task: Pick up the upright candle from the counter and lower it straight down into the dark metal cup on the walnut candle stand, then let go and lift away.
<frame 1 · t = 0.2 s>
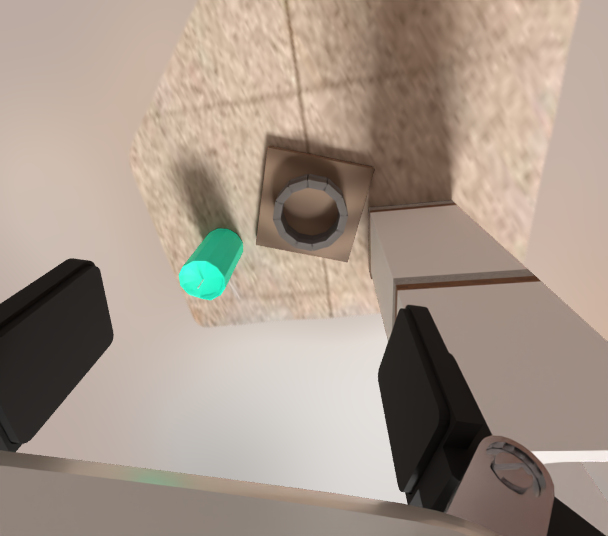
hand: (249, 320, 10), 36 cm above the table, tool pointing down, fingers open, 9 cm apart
candle stand: (311, 206, 46), on the table
tall banded pillar: (407, 237, 48), on the table
candle: (224, 245, 50), on the table
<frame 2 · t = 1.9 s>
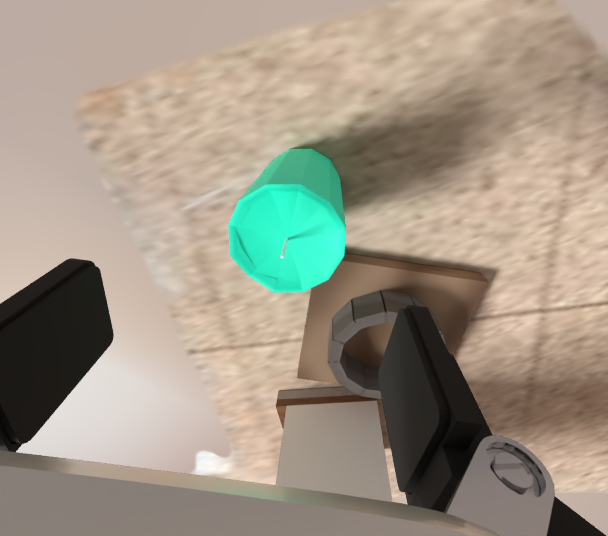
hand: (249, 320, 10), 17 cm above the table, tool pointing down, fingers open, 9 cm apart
candle stand: (379, 325, 31), on the table
tall banded pillar: (332, 419, 38), on the table
candle: (302, 187, 25), on the table
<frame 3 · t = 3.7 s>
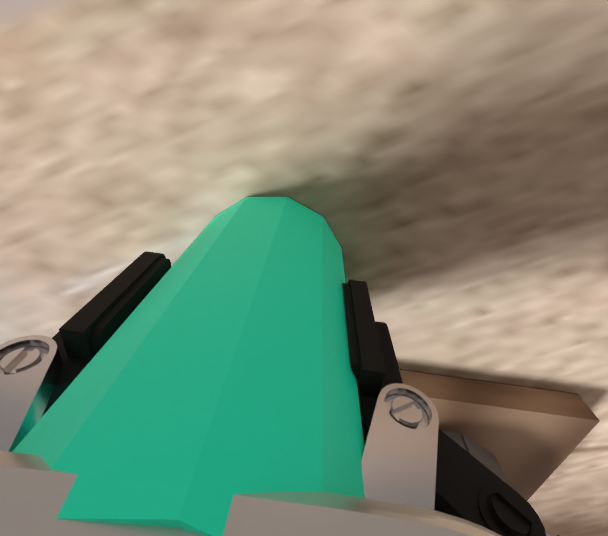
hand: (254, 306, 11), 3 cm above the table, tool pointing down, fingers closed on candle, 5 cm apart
candle stand: (402, 456, 20), on the table
candle: (272, 261, 14), on the table, touching gripper
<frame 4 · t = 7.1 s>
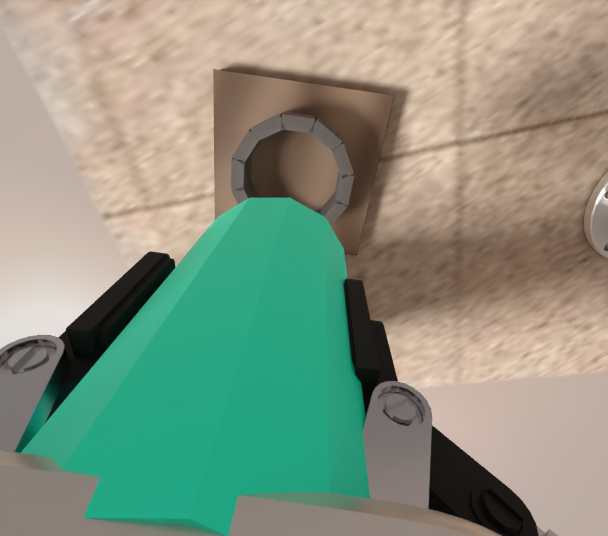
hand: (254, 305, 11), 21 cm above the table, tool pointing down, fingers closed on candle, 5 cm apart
candle stand: (295, 170, 29), on the table
candle: (274, 262, 14), point 18 cm above the table, touching gripper
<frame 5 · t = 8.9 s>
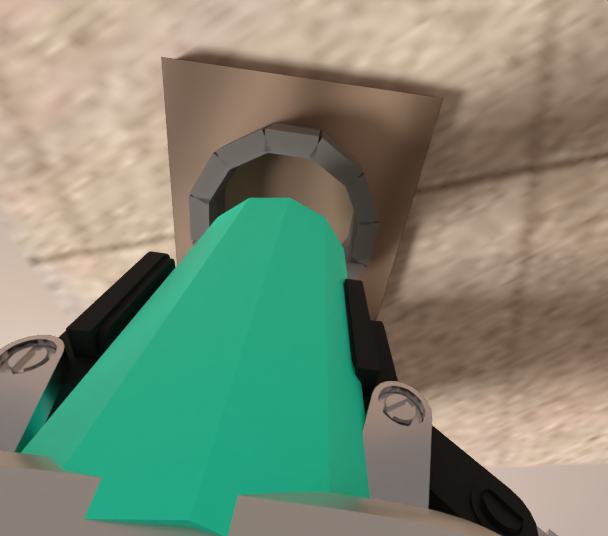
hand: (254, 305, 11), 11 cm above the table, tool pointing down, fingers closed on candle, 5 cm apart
candle stand: (290, 204, 21), on the table
candle: (274, 262, 14), point 8 cm above the table, touching gripper
when the fingers open (6 cm above the table, at t = 10.4 s): candle drops 1 cm, resting on candle stand.
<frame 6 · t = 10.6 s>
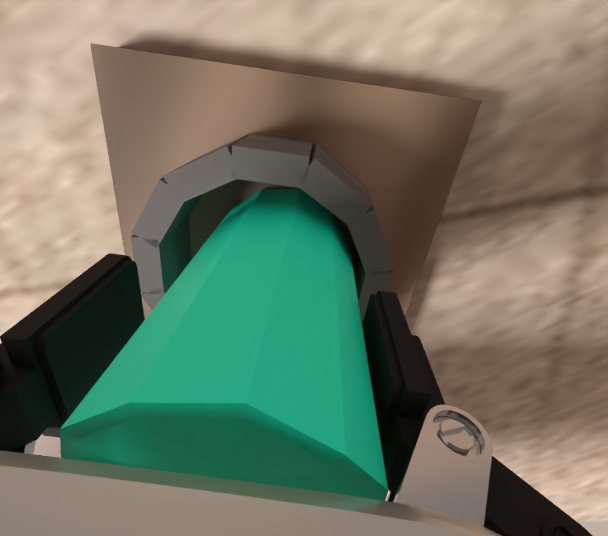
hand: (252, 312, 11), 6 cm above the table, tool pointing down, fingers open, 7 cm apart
candle stand: (276, 235, 16), on the table
candle: (284, 249, 15), point 1 cm above the table, touching candle stand
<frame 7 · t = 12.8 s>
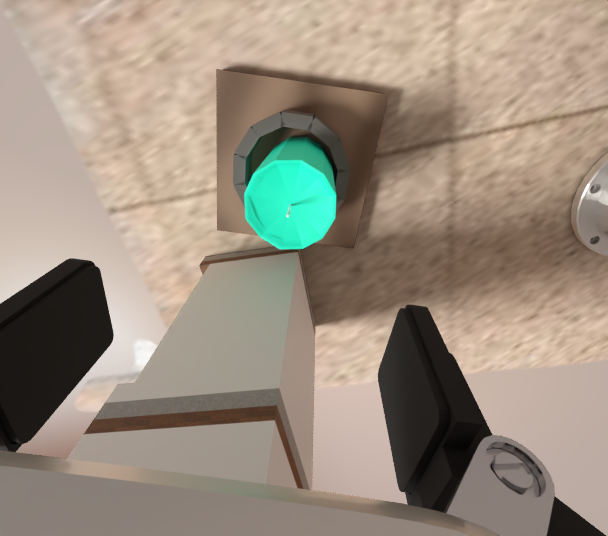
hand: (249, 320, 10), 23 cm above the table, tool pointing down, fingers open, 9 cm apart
candle stand: (294, 166, 31), on the table
tall banded pillar: (263, 292, 38), on the table
candle: (299, 170, 30), point 1 cm above the table, touching candle stand
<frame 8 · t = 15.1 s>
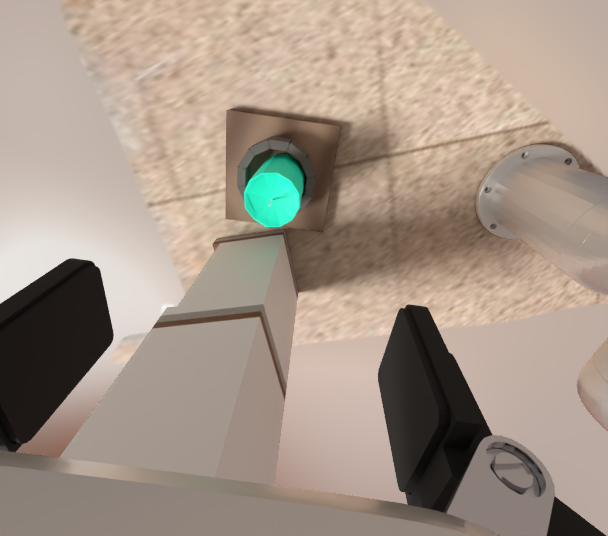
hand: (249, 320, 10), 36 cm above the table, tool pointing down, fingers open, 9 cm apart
candle stand: (279, 173, 44), on the table
tall banded pillar: (259, 266, 51), on the table
candle: (282, 176, 43), point 1 cm above the table, touching candle stand
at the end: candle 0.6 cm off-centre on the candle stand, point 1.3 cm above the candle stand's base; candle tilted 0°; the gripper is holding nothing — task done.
